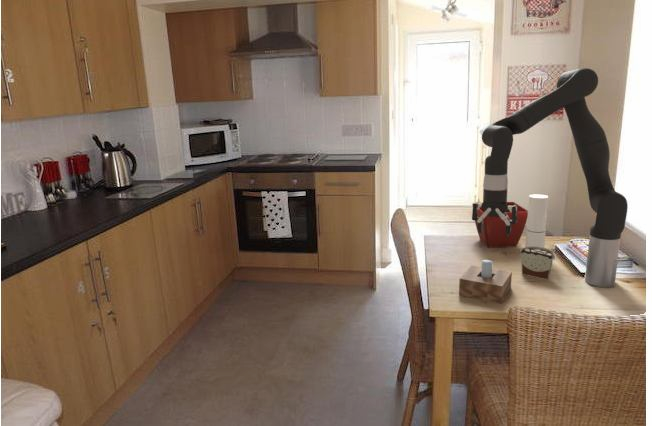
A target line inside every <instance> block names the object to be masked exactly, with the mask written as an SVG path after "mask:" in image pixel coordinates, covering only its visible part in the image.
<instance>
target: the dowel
mask: <svg viewBox="0 0 652 426" xmlns="http://www.w3.org/2000/svg"><path fill="white" fill-rule="evenodd" d="M481 267H482V269H481V277H483V278H489V279H492V269H493V261H492V260H489V259H482V261H481Z"/></svg>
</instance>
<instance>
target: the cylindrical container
mask: <svg viewBox="0 0 652 426" xmlns="http://www.w3.org/2000/svg"><path fill="white" fill-rule="evenodd" d="M548 207H549V196H548V195H546V194H539V193H537V194H534V193H533V194H529V195H528V207H527V210H528V217H527V221H526V231H525V235H526V236H525V246H524V247H542V248H545V245H546V230H547V219H548V218H547V217H548Z"/></svg>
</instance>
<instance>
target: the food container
mask: <svg viewBox="0 0 652 426" xmlns="http://www.w3.org/2000/svg"><path fill="white" fill-rule="evenodd" d="M519 254H520V256H521V257H520V259H521V274H522V275H524V276H528V277H533V278H536V279H541V280H545V281H549V279H550V274H551V270H552V266H553V261H555V260H556V257H555V253H554V251H553V250H551V249H549V248H546V247H544V248H542V247H525V246H524V247H522V248H521V249H520V250H519Z"/></svg>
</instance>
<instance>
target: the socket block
mask: <svg viewBox="0 0 652 426" xmlns="http://www.w3.org/2000/svg"><path fill="white" fill-rule="evenodd" d="M481 269H482V266H477V265H470V266H469V267H468V268H467V270H466V271H464V273H463V274H462V275H461V277H460V278H459V283H458V284H459V285H458V295H459V296H462V297H463V296H464V297H468V298H472V299H473V298H474V299H477V300H478V299H479V300H484V301H488V302H492V303H493V302H494V303H498V304H502V303H503V302H504V300H505V298H506V296H507V294H508V293H509V292H510V291H511V288H512V278H513V275H512V274H513V272H512V271H510V270H501V269H498V268H497V269H495V268H492V279H489V278H483V277H481Z"/></svg>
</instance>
